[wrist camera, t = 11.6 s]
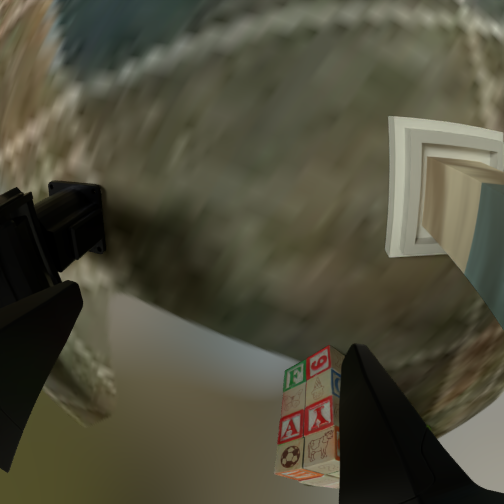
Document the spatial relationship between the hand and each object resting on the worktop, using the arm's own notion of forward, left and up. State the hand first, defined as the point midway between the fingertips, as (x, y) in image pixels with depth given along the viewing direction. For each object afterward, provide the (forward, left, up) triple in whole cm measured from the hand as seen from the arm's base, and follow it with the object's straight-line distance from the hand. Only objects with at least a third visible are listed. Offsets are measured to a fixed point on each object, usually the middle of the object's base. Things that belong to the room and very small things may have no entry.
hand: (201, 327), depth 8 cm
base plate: (+14, +4, -13) cm, 20 cm away
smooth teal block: (+14, +4, -12) cm, 19 cm away
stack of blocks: (+16, -21, -13) cm, 30 cm away
